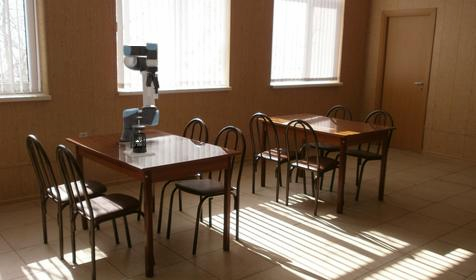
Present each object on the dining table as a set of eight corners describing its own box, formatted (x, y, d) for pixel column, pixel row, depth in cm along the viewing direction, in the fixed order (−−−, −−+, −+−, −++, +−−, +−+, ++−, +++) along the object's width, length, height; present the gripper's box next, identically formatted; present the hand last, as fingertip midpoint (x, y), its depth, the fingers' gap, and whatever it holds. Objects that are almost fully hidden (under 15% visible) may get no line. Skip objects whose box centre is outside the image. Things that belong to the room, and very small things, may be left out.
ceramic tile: (123, 153, 308) (123, 150, 307) (146, 150, 316) (146, 148, 316) (130, 157, 296) (130, 155, 296) (154, 154, 304) (154, 152, 304)
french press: (143, 149, 313) (142, 115, 309) (150, 151, 306) (149, 116, 302) (127, 151, 305) (126, 116, 301) (134, 154, 298) (133, 118, 294)
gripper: (140, 64, 322) (141, 95, 326) (153, 67, 301) (153, 99, 305) (151, 64, 326) (151, 95, 330) (164, 67, 304) (164, 99, 309)
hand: (152, 97), depth 318 cm, fingers open, 13 cm apart
